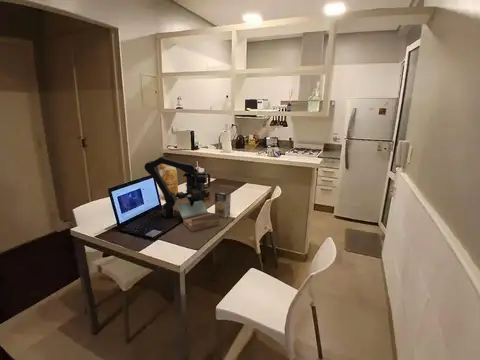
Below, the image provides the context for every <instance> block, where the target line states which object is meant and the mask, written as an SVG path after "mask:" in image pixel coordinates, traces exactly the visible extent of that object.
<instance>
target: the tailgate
mask: <svg viewBox="0 0 480 360" xmlns="http://www.w3.org/2000/svg"><path fill="white" fill-rule="evenodd" d="M176 207H177V209H178V212H179V214H180V216H181V219H182V220H183V219H186V218H190V217H194V216H199V215H203V214H208V213H209V212H208V210H207V207H206V206H205V203H204V201H203V200H198V201H194V204H193V206H191V205H190V203H189V202H186V203H181V204H177V206H176Z"/></svg>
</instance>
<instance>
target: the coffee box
mask: <svg viewBox="0 0 480 360" xmlns="http://www.w3.org/2000/svg"><path fill="white" fill-rule="evenodd" d="M231 195H232V193H231V192H228V191H224V190H219V191H218V190H217V191H216V192H214V213H219V217H220V216H221V218H228V217H230V216H231V201H232V200H231V198H232V197H231ZM227 216H228V217H227Z"/></svg>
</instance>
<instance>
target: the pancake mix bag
mask: <svg viewBox="0 0 480 360" xmlns="http://www.w3.org/2000/svg"><path fill="white" fill-rule="evenodd" d="M158 170H159V174H160V175H161V177H162V179H163V180H164V182H165V184H166V185H167V187H168V189H169V190H170V192H172V193H173V192H174V193H175V195H176V194H177V193H178V192H179V185H178V184H179V183H178V182H179V181H178V171H177V168H175V167H172V166H169V165H165V164H160V165H158ZM162 195H163V194H162ZM162 200H163V201H165V198H164V195H163V197H162Z"/></svg>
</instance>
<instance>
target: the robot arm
mask: <svg viewBox="0 0 480 360" xmlns="http://www.w3.org/2000/svg"><path fill="white" fill-rule="evenodd" d="M160 164H165V165H169V166H172V167H175V168H176V169H179V170H180V171H183V173H184V174H182V176H183V178H184V177H186V178H185V181H186V183H185V187H186V190H185V192H183V191H178V193H177V194H176V195H175V193H174V192H173V193H172V192H170V190H169V189H168V187H167V185H166V184H165V182H164V180H163V179H162V177H161V175H160V173H159V165H160ZM144 170H145V171H146V172H147V174H149V176H151V177H152V178H153V180H154V181H155V182H156V185H157V186H158V188H159V189H160V191H161V193H162V195H164V198H165V200H164V201H165V203H164V204H163V206H162V208H163V210H164V214H162V215H163V216H164V218H166V219H169V218H170V219H171V218H174V217H177V216H176V214H175V211H174V210H175V209H174V206H175V205H176V204H177V202H178V199H179V200H182V199H185V198H186V199H187V201H188V203H190V205H191V206H193V204H194V202H196V201H195V200H196V199H197V197H200V195H206V194H207V191H206V190H205V189H204V188H203V187H197V184H207V183H208V176H207V175H208V174H207V172H199V170H198V169H197V168H196V165H195V163H193V162H183V161H179V160H175V159H173V158H168V157H166V156H163V155H162V156H159V157H158V158H157V159H154V160H149V161H147V162H146V163H145V164H144Z"/></svg>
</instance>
